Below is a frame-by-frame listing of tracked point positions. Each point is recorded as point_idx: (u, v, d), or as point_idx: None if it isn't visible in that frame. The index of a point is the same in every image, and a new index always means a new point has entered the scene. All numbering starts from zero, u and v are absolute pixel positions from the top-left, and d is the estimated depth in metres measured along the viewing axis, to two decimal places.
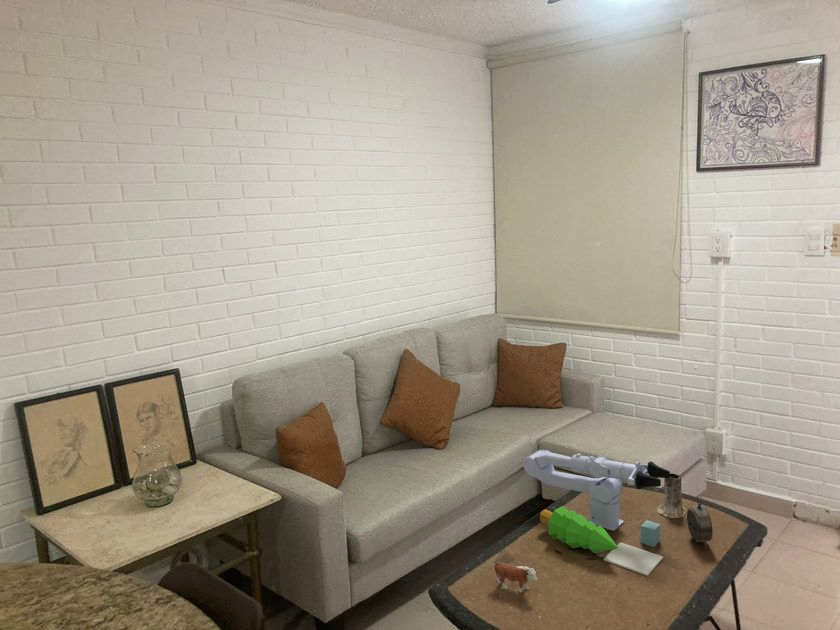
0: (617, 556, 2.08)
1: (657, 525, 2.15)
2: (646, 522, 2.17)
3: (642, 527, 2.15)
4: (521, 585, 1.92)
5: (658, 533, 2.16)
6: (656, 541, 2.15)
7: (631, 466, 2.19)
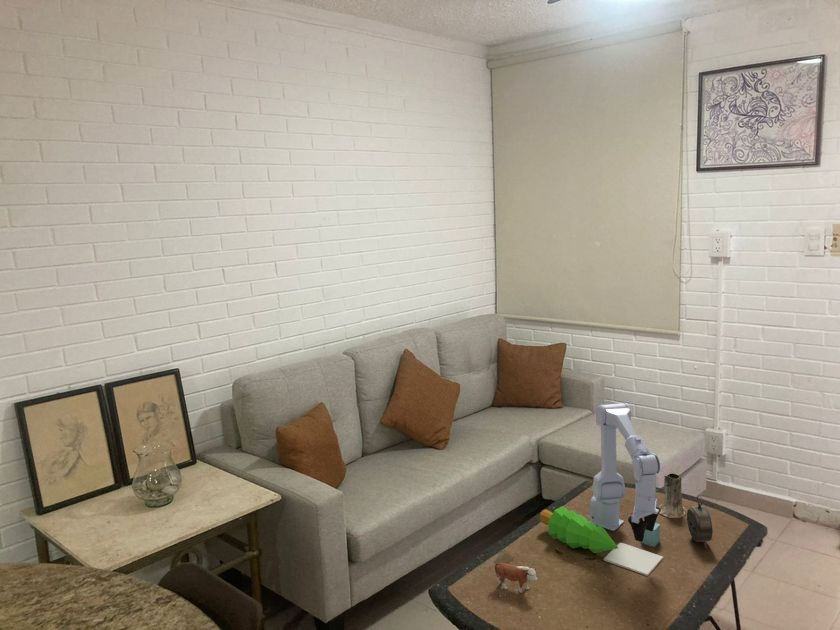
0: (617, 556, 2.08)
1: (657, 525, 2.15)
2: None
3: None
4: (521, 585, 1.92)
5: (658, 533, 2.16)
6: (656, 541, 2.15)
7: (652, 505, 1.97)
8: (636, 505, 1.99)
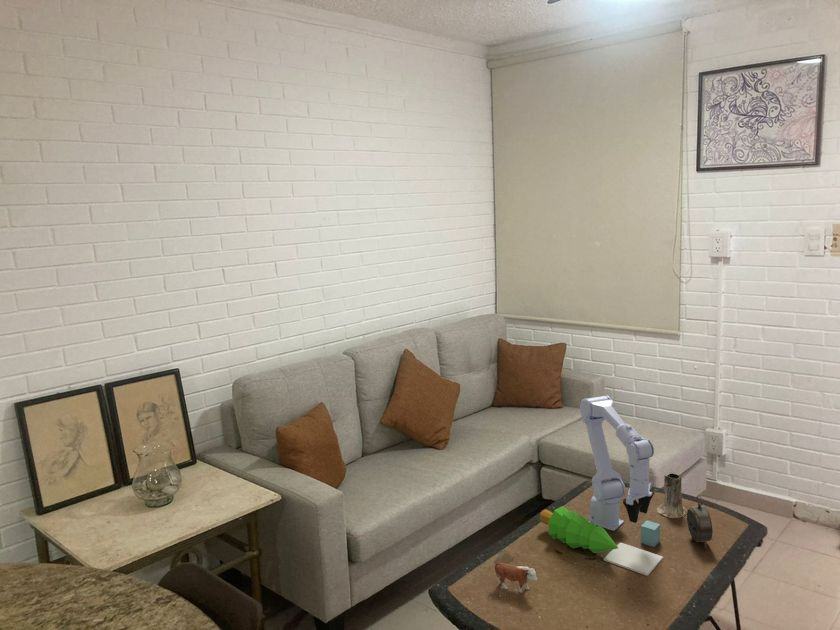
0: (617, 556, 2.08)
1: (657, 525, 2.15)
2: (646, 522, 2.17)
3: (642, 527, 2.15)
4: (521, 585, 1.92)
5: (658, 533, 2.16)
6: (656, 541, 2.15)
7: (646, 488, 2.08)
8: (630, 488, 2.10)
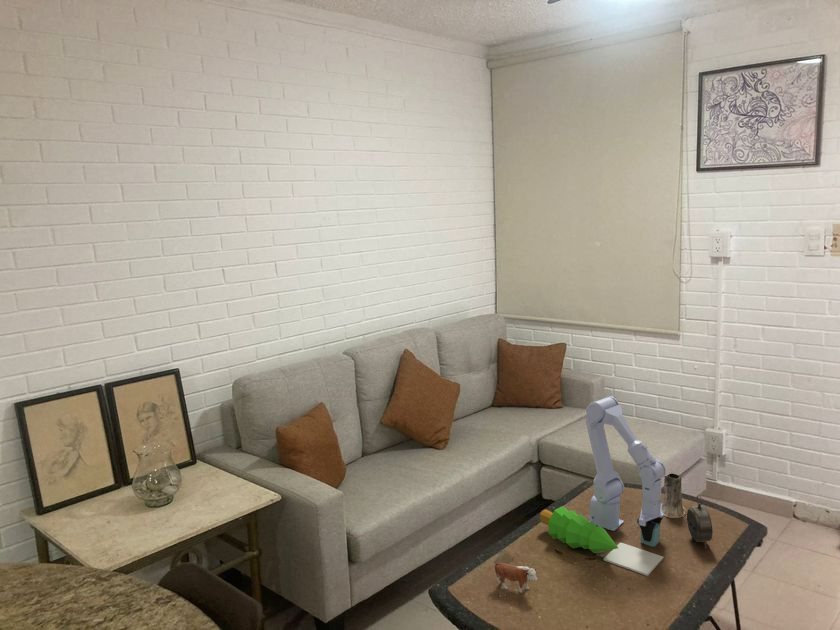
0: (617, 556, 2.08)
1: (657, 525, 2.15)
2: None
3: None
4: (521, 585, 1.92)
5: (658, 533, 2.16)
6: (656, 541, 2.15)
7: (658, 510, 2.12)
8: (643, 509, 2.14)
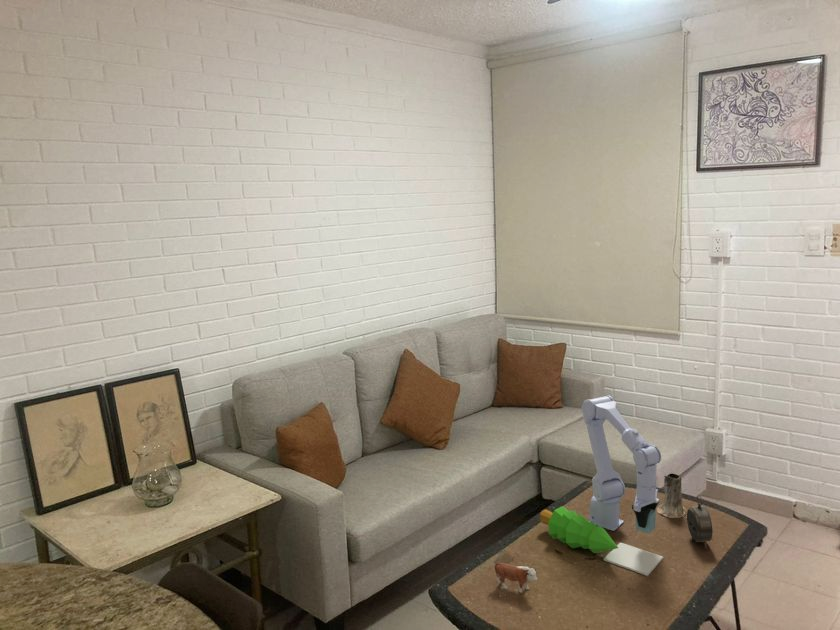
0: (617, 556, 2.08)
1: (652, 511, 2.11)
2: None
3: None
4: (521, 585, 1.92)
5: (653, 519, 2.11)
6: (651, 527, 2.10)
7: (653, 495, 2.07)
8: (638, 495, 2.09)
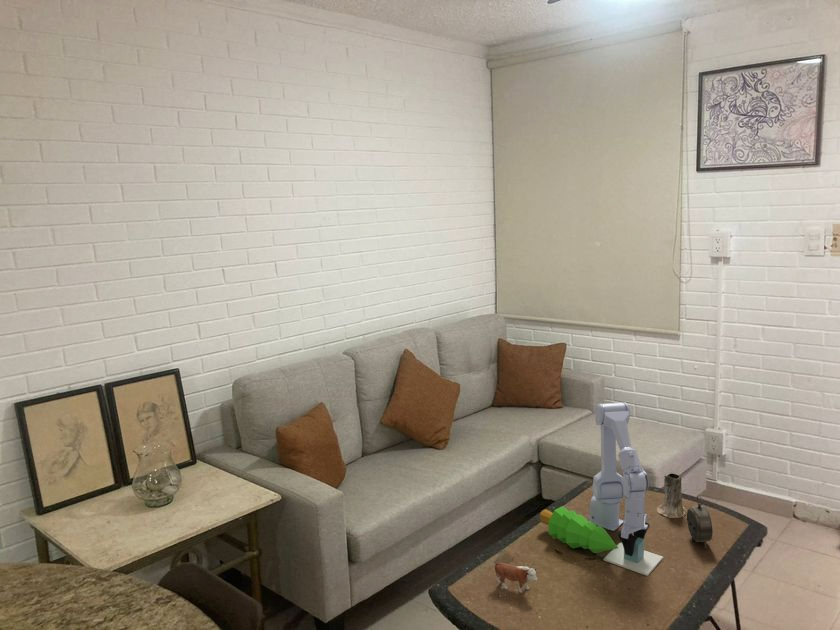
0: (617, 556, 2.08)
1: (641, 540, 2.06)
2: None
3: None
4: (521, 585, 1.92)
5: (642, 548, 2.06)
6: (640, 557, 2.05)
7: (641, 521, 2.02)
8: (626, 521, 2.04)
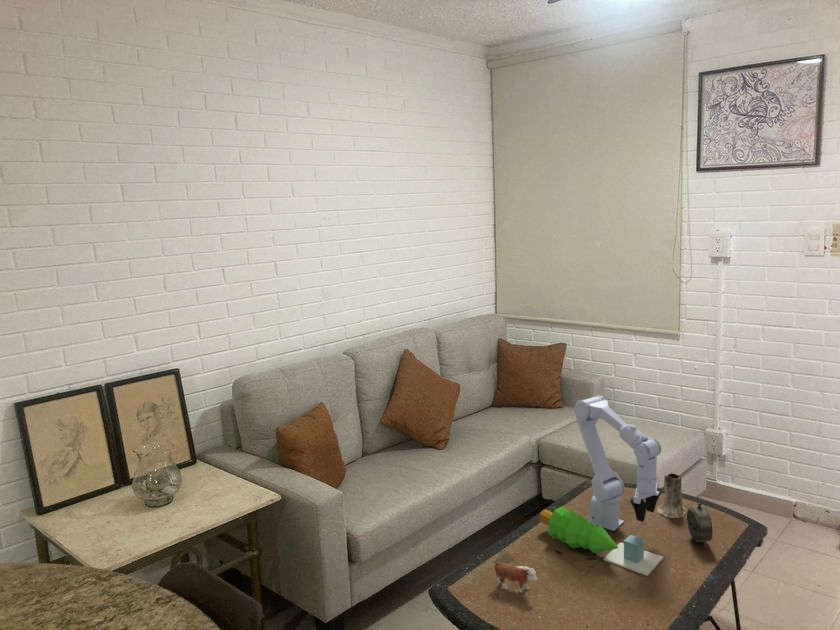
0: (617, 556, 2.08)
1: (641, 540, 2.06)
2: (630, 537, 2.08)
3: (625, 542, 2.06)
4: (521, 585, 1.92)
5: (642, 548, 2.06)
6: (640, 557, 2.05)
7: (653, 488, 2.10)
8: (638, 487, 2.12)
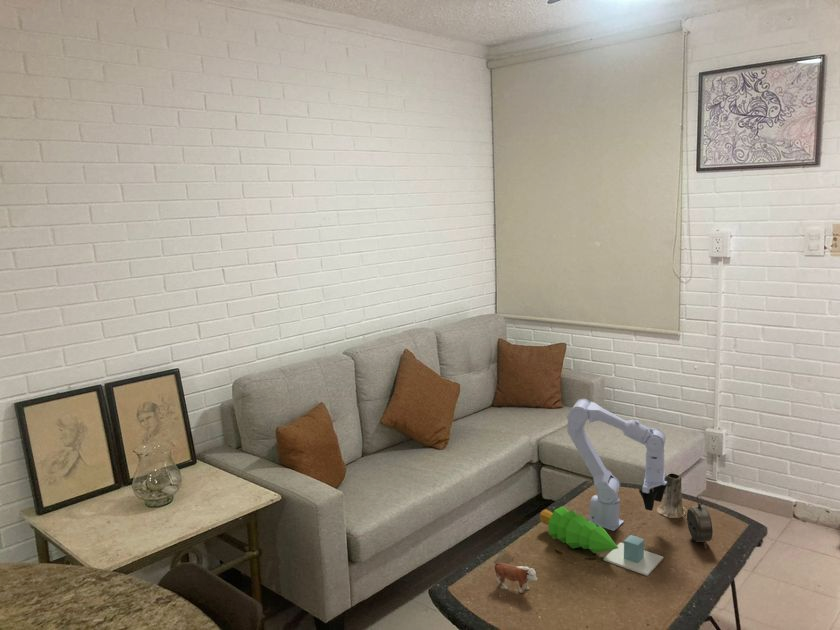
0: (617, 556, 2.08)
1: (641, 540, 2.06)
2: (630, 537, 2.08)
3: (625, 542, 2.06)
4: (521, 585, 1.92)
5: (642, 548, 2.06)
6: (640, 557, 2.05)
7: (661, 477, 2.17)
8: (646, 477, 2.19)
